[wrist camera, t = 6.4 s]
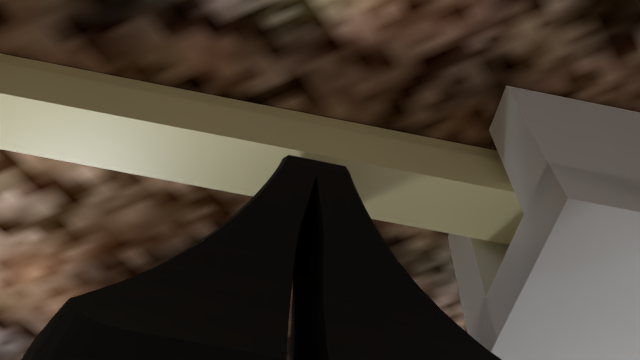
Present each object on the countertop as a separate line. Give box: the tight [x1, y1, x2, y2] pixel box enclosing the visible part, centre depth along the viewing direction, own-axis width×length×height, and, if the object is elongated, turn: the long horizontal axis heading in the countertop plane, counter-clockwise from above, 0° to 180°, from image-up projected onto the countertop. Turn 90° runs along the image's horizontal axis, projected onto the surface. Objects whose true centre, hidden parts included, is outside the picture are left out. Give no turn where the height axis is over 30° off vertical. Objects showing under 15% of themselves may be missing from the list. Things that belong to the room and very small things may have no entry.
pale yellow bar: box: [0, 53, 524, 245], centre depth 14 cm, size 1×23×2 cm, turn 79°
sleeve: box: [448, 86, 640, 360], centre depth 13 cm, size 5×4×5 cm
